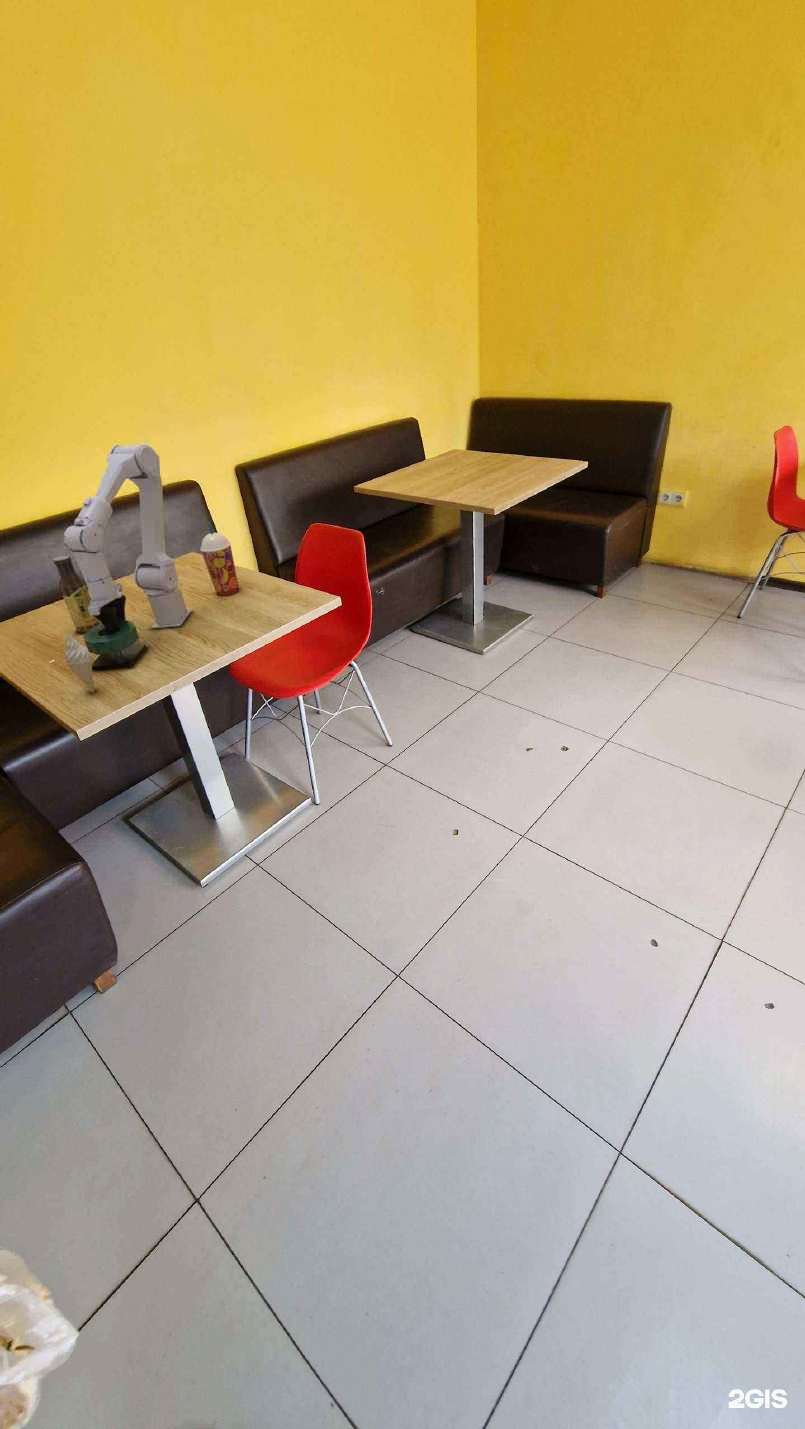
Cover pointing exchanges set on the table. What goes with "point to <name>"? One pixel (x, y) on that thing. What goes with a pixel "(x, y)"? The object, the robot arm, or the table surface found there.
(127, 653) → the peg stand
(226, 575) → the smoothie
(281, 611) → the table surface
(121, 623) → the ring
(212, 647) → the table surface
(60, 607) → the table surface
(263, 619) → the table surface
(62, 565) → the sauce bottle
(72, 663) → the ice cream cone
